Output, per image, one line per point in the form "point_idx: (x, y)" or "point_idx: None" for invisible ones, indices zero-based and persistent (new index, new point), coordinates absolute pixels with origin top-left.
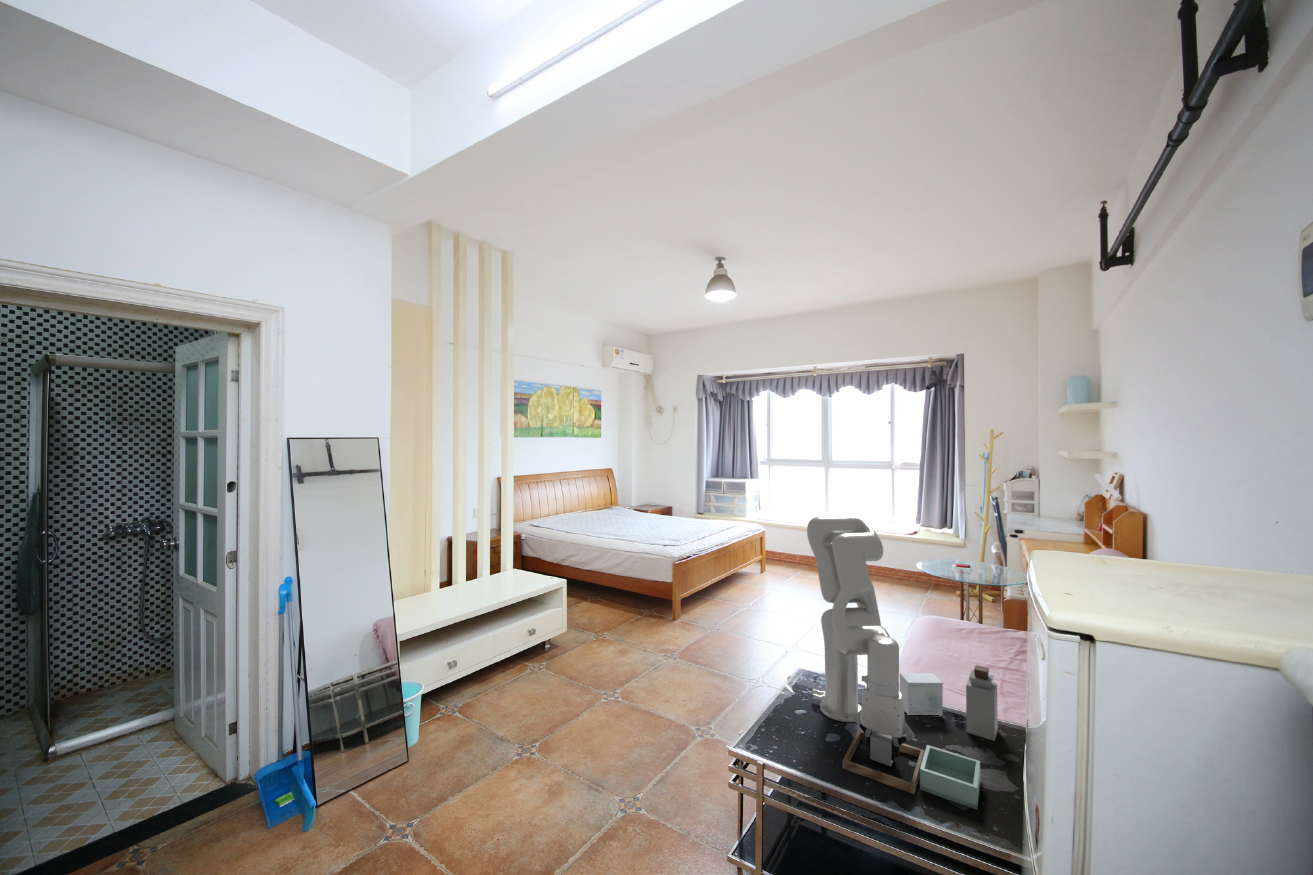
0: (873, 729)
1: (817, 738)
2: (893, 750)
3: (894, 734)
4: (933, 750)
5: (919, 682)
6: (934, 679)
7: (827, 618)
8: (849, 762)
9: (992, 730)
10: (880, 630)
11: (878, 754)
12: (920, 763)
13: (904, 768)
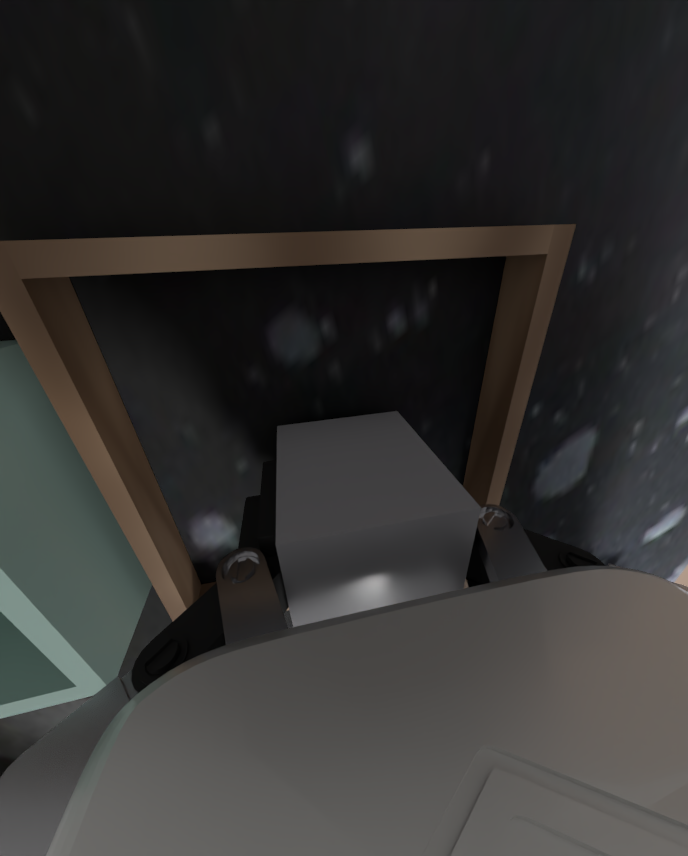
0: (516, 590)
1: (630, 416)
2: (267, 509)
3: (210, 697)
4: (60, 674)
5: None
6: None
7: None
8: (526, 236)
9: None
10: None
11: (362, 439)
12: (130, 541)
13: (225, 474)
